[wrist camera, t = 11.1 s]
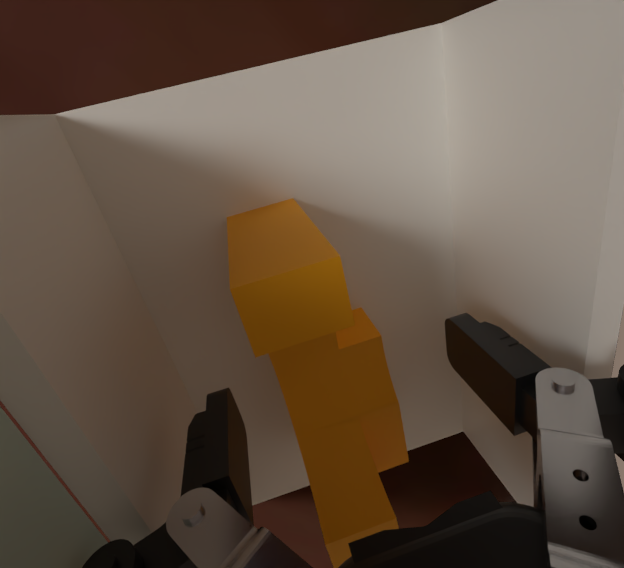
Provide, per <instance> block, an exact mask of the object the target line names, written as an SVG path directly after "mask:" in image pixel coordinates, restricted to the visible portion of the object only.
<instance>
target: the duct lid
mask: <svg viewBox="0 0 624 568" xmlns="http://www.w3.org/2000/svg"><path fill="white" fill-rule="evenodd" d="M107 543H108V542H107V541H106V540H105V538H104V537H103V536H102V535H101V533H100V532H99V531H98V530H97V528H96V527H95V526H94V524H93V523H92V522H91V521H90V519H89V518H88V517H87V516H86V514H85V513H84V512H83V511H82V509H81V508H80V507H79V506H78V504H77V503H76V502H75V500H74V499H73V498H72V497H71V495H70V494H69V493H68V492H67V490H66V489H65V488H64V487H63V485H62V484H61V483H60V482H59V480H58V479H57V478H56V476H55V475H54V474H53V473H52V471H51V470H50V469H49V468H48V466H47V465H46V464H45V463H44V461H43V460H42V459H41V457H40V456H39V455H38V454H37V452H36V451H35V450H34V449H33V447H32V446H31V445H30V444H29V442H28V441H27V440H26V439H25V437H24V436H23V435H22V433H21V432H20V431H19V430H18V428H17V427H16V426H15V425H14V423H13V422H12V421H11V420H10V418H9V417H8V416H7V415H6V413H5V412H4V411H3V409H2V408H1V407H0V568H82V567H83V565H84V564H85V563H86V561H87V560H88V559H89V558H90V556H91V555H92V554H93V553H94V552H96V551H97V550H98V549H99V548H100V547H102V546H103V545H105V544H107Z"/></svg>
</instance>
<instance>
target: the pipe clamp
mask: <svg viewBox="0 0 624 568" xmlns="http://www.w3.org/2000/svg"><path fill="white" fill-rule="evenodd" d="M227 237H228V260H229V283H230V291H231V294H232V297H233V299H234V302H235V305H236V307H237V310H238V313H239V315H240V318H241V321H242V323H243V326H244V329H245V331H246V334H247V337H248V339H249V342H250V345H251V347H252V350H253V353H254V355H255V358H256V357H259V356H262V355H265V354H269V357H270V359H271V362H272V365H273V367H274V370H275V373H276V376H277V378H278V381H279V384H280V387H281V390H282V393H283V396H284V399H285V402H286V405H287V408H288V411H289V415H290V418H291V421H292V424H293V427H294V431H295V434H296V437H297V441H298V444H299V448H300V451H301V455H302V458H303V462H304V465H305V469H306V472H307V476H308V479H309V483H310V487H311V491H312V494H313V498H314V502H315V506H316V510H317V513H318V517H319V521H320V525H321V529H322V533H323V537H324V542H325V545H326V548H327V551H328V553H329V556H330V559H331V562H332V564H333V567H334V568H338V567H339V566H340V565H341V564H342V563H343V562H344V561H346V560H347V559H348V558H350V557H351V556H352V555H351V551H350V548H349V545H348V543H351V542H353V541H356V540H359V539H361V538H364V537H367V536H369V535H372V534H375V533H378V532H380V531H383V530H391V529H399V528H398V523H397V519H396V516H395V514H394V511H393V509H392V507H391V504H390V502H389V499H388V497H387V494H386V492H385V489H384V487H383V484H382V482H381V479H380V477H379V474H378V473H379V472H382V471H384V470H387V469H390V468H393V467H395V466H398V465H401V464H404V463H406V462H409V458H408V453H407V447H406V441H405V435H404V429H403V423H402V417H401V411H400V406H399V402H398V399H397V396H396V393H395V390H394V387H393V383H392V380H391V377H390V373H389V369H388V366H387V362H386V357H385V353H384V348H383V342H382V336H381V334H380V333H379V331H378V330H377V329H376V327H375V326H374V324H373V323H372V322H371V320H370V319H369V317H368V316H367V315H366V313H365V312H364V310H363V309H362V308H357V309H354V310H352V309H351V304H350V299H349V295H348V290H347V285H346V281H345V276H344V271H343V267H342V262H341V257H340V255H339V254H338V252H337V251H336V250H335V249H334V248H333V246H332V245H331V244H330V243H329V241H328V240H327V239H326V238H325V237H324V235H323V234H322V233H321V232H320V230H319V229H318V228H317V227H316V226H315V224H314V223H313V222H312V221H311V219H310V218H309V217H308V216H307V215H306V213H305V212H304V211H303V210H302V208H301V207H300V206H299V205H298V204H297V202H296V201H295V200H294V199H293V198H292V199H288V200H285V201H281V202H278V203H274V204H271V205H267V206H264V207H260V208H257V209H254V210H250V211H247V212H243V213H240V214H236V215H233V216H229V217H227Z"/></svg>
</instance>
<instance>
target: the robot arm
mask: <svg viewBox="0 0 624 568" xmlns="http://www.w3.org/2000/svg"><path fill="white" fill-rule="evenodd" d="M445 336H446V349H447V356H448V359H449V362H450V364H451V366H452V367H453V369H454V370H455V371H456V372H457V373H458V374H459V375H460V377H461V378H462V379H463V380H464V381H465V382H466V383H467V384H468V385H469V387H470V388H471V389H472V390H473V391H474V392H475V393H476V394H477V395H478V397H479V398H480V399H481V400H482V401H483V402H484V403H485V404H486V405H487V407H488V408H489V409H490V410H491V411H492V412H493V413H494V414H495V415H496V416H497V418H498V419H499V420H500V421H501V422H502V423H503V424H504V425H505V426H506V428H507V429H508V430H509V431H510V432H511V433H512V434H513V435H514V436H516V435H518V434H521V433H524V432H528V433H529V434H530V435H531V436H532V467H533V492H534V507H532V506H529V505H525V504H520V503H513V502H498V501H497V499H496V498H495V496H494V495H493V494H492V492H491V491H488V492H486V493H483V494H480V495H477V496H475V497H472V498H469V499H467V500H464V501H461V502H459V503H456V504H455V505H454V506H452V507H451V508H450V509H448V510H447V511H446V512H444V513H443V514H442V515H440V516H439V517H438V518H436V519H435V520H434V521H432V522H431V523H430V524H428V525H427V526H424V527H415V528H403V529H391V530H383V531H380V532H378V533H375V534H372V535H369V536H367V537H364V538H361V539H359V540H356V541H353V542H351V543H348V545H349V548H350V551H351V555H352V556H351V557H350V558H348V559H347V560H346V561H344V562H343V563H342V564H341V565H340V566H339V567H338V568H624V492H623V487H622V484H621V479H620V475H619V471H618V467H617V462H616V458H615V454H617V455H618V456H619V457H620V458H621V459H622V460H623V461H624V365H623V366H622V367H621V368H620V370H619V375H618V377H617V378H602V379H587V378H586V377H584V376H583V375H582V374H580V373H578V372H576V371H573V370H570V369H566V368H552V367H551V366H549V365H548V364H547V363H545V362H544V361H543V360H542V359H540V358H539V357H538V356H536V355H535V354H534V353H533V352H531V351H530V350H529V349H527V348H526V347H525V346H523V345H522V344H519V342H518V341H517V340H516V339H514V338H513V337H511V336H510V335H509V334H508V333H507V332H505V331H504V330H503V329H502V328H500V327H498V326H496V325H493V324H491V323H488V322H485V321H484V322H481V323H479V322H478V321H477V320H476V319H474V318H473V317H472V316H471V315H470V314H468V313H463V314H460V315H457V316H454V317H450V318H447V319H446V320H445ZM185 452H186V454H185V460H184V469H183V478H182V488H181V496H180V498H179V499H178V500H177V501H176V502H175V503H174V505H173V506H172V508H171V509H170V511H169V514H168V516H167V520H166V522H165V523H164V524H163V525H162V526H161V527H159V528H158V529H157V530H155V531H154V532H152V533H151V534H149V535H148V536H146V537H145V538H143V539H142V540H140V541H139V542H137V543H136V544H134V545H133V544H132V543H131V542H130V541H128V540H125V539H118V540H114V541H111V542H109V543H107V544H105V545H103V546H102V547H100V548H99V549H98V550H97V551H96V552H94V553H93V554H92V555H91V556H90V558H89V559H88V560H87V561H86V563H85V564H84V565H83V567H82V568H313V567H311V566H310V565H309V564H308V563H307V562H306V561H304V560H303V559H302V558H301V557H300V556H298V555H297V554H296V553H295V552H294V551H293V550H291V549H290V548H289V547H288V546H287V545H285V544H284V543H283V542H282V541H281V540H280V539H278V538H277V537H276V536H275V535H274V534H272V533H271V532H270V531H269V530H267V529H266V528H264V527H261V528H260V529H257V528H255V527H254V523H253V510H252V497H251V484H250V471H249V458H248V445H247V434H246V429H245V425H244V422H243V419H242V416H241V414H240V412H239V409H238V407H237V404H236V402H235V399H234V397H233V395H232V392H231V390H230V388H225V389H222V390H219V391H216V392H212V393H209V394H207V399H206V411H203V412H200V413H197V414H195V415H194V417H193V419H192V421H191V423H190V425H189V426H188V432H187V443H186V451H185Z"/></svg>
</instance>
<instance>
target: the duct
mask: <svg viewBox="0 0 624 568" xmlns="http://www.w3.org/2000/svg"><path fill="white" fill-rule="evenodd" d="M292 198H293V199H294V200H295V201H296V202H297V204H298V205H299V206H300V207H301V208H302V210H303V211H304V212H305V213H306V215H307V216H308V217H309V218H310V219H311V221H312V222H313V223H314V224H315V226H316V227H317V228H318V229H319V230H320V232H321V233H322V234H323V235H324V237H325V238H326V239H327V240H328V241H329V243H330V244H331V245H332V246H333V248H334V249H335V250H336V251H337V252H338V254H339V255H340V257H341V262H342V267H343V271H344V276H345V281H346V285H347V290H348V295H349V299H350V304H351V309H352V310H354V309H357V308H362V309H363V310H364V312H365V313H366V315H367V316H368V317H369V319H370V320H371V322H372V323H373V324H374V326H375V327H376V329H377V330H378V331H379V333H380V334H381V336H382V342H383V348H384V353H385V357H386V362H387V366H388V369H389V373H390V377H391V380H392V383H393V387H394V390H395V393H396V396H397V399H398V402H399V406H400V411H401V417H402V423H403V429H404V435H405V441H406V447H407V451H409V450H412V449H415V448H418V447H420V446H423V445H426V444H429V443H432V442H435V441H437V440H440V439H443V438H446V437H449V436H452V435H455V434H457V433H460V432H464V433H465V434H466V436H467V437H468V438H469V440H470V441H471V442H472V444H473V445H474V446H475V448H476V449H477V450H478V452H479V453H480V454H481V456H482V457H483V458H484V459H485V461H486V462H487V463H488V465H489V466H490V467H491V469H492V470H493V471H494V473H495V474H496V475H497V477H498V478H499V479H500V481H501V482H502V483H503V485H504V486H505V487H506V489H507V490H508V491H509V493H510V494H511V495H512V497H513V498H514V499H515V501H516V502H517V503H520V504H525V505H529V506H532V507H534V492H533V467H532V436H531V435H530V434H529V433H528V432H524V433H521V434H518V435H516V436H514V435H513V434H512V433H511V432H510V431H509V430H508V429H507V428H506V426H505V425H504V424H503V423H502V422H501V421H500V420H499V419H498V418H497V416H496V415H495V414H494V413H493V412H492V411H491V410H490V409H489V408H488V407H487V405H486V404H485V403H484V402H483V401H482V400H481V399H480V398H479V397H478V395H477V394H476V393H475V392H474V391H473V390H472V389H471V388H470V387H469V385H468V384H467V383H466V382H465V381H464V380H463V379H462V378H461V377H460V375H459V374H458V373H457V372H456V371H455V370H454V369H453V367H452V366H451V364H450V362H449V359H448V356H447V349H446V336H445V320H446V319H447V318H450V317H454V316H457V315H460V314H463V313H468V314H470V315H471V316H472V317H473V318H474V319H476V320H477V321H478V322H479V323H481V322H484V321H485V322H488V323H491V324H493V325H496V326H498V327H500V328H502V329H503V330H504V331H505V332H507V333H508V334H509V335H510V336H511V337H513V338H514V339H516V340H517V341H518V342H519V344H522V345H523V346H525V347H526V348H527V349H529V350H530V351H531V352H533V353H534V354H535V355H536V356H538V357H539V358H540V359H542V360H543V361H544V362H545V363H547V364H548V365H549V366H551V367H552V368H566V369H570V370H573V371H576V372H578V373H580V374H582V375H583V376H584V377H586V378H587V379H602V378H611V375H612V369H613V364H614V358H615V352H616V346H617V341H618V335H619V330H620V324H621V318H622V313H623V307H624V0H498V1H495V2H493V3H490V4H488V5H485V6H483V7H480V8H478V9H475V10H473V11H470V12H468V13H465V14H463V15H460V16H458V17H455V18H453V19H451V20H448V21H446V22H443V23H440V24H436V25H432V26H427V27H423V28H419V29H415V30H410V31H406V32H402V33H398V34H393V35H389V36H385V37H381V38H376V39H372V40H368V41H364V42H359V43H355V44H351V45H347V46H342V47H338V48H334V49H330V50H325V51H321V52H317V53H313V54H309V55H304V56H300V57H296V58H292V59H287V60H283V61H279V62H275V63H270V64H266V65H262V66H258V67H253V68H249V69H245V70H241V71H236V72H232V73H228V74H224V75H219V76H215V77H211V78H207V79H202V80H198V81H194V82H190V83H185V84H181V85H177V86H173V87H169V88H164V89H160V90H156V91H152V92H147V93H143V94H139V95H135V96H130V97H126V98H122V99H118V100H113V101H109V102H105V103H101V104H96V105H92V106H88V107H84V108H79V109H75V110H71V111H67V112H62V113H58V114H48V115H0V400H1V402H2V403H3V404H4V405H5V407H6V408H7V409H8V411H9V412H10V413H11V414H12V416H13V417H14V418H15V419H16V421H17V422H18V423H19V425H20V426H21V427H22V428H23V430H24V431H25V432H26V434H27V435H28V436H29V437H30V439H31V440H32V441H33V442H34V444H35V445H36V446H37V448H38V449H39V450H40V451H41V453H42V454H43V455H44V457H45V458H46V459H47V460H48V462H49V463H50V464H51V465H52V467H53V468H54V469H55V471H56V472H57V473H58V474H59V476H60V477H61V478H62V480H63V481H64V482H65V483H66V485H67V486H68V487H69V488H70V490H71V491H72V492H73V494H74V495H75V496H76V497H77V499H78V500H79V501H80V503H81V504H82V505H83V506H84V508H85V509H86V510H87V511H88V513H89V514H90V515H91V517H92V518H93V519H94V520H95V522H96V523H97V524H98V526H99V527H100V528H101V529H102V531H103V532H104V533H105V534H106V536H107V537H108V538H109V540H110V541H114V540H118V539H125V540H128V541H130V542H131V543H132V544H133V545H134V544H136V543H137V542H139V541H140V540H142V539H143V538H145V537H146V536H148V535H149V534H151V533H152V532H154V531H155V530H157V529H158V528H159V527H161V526H162V525H163V524H164V523H165V522H166V520H167V516H168V514H169V511H170V509H171V508H172V506H173V505H174V503H175V502H176V501H177V500H178V499H179V498H180V496H181V488H182V478H183V469H184V460H185V454H186V452H185V451H186V443H187V432H188V426H189V425H190V423H191V421H192V419H193V417H194V415H195V414H197V413H200V412H203V411H206V399H207V394H209V393H212V392H216V391H219V390H222V389H225V388H230V390H231V392H232V395H233V397H234V399H235V402H236V404H237V407H238V409H239V412H240V414H241V416H242V419H243V422H244V425H245V429H246V434H247V445H248V458H249V471H250V484H251V497H252V505H255V504H258V503H261V502H263V501H266V500H269V499H272V498H275V497H278V496H281V495H283V494H286V493H289V492H292V491H295V490H298V489H301V488H303V487H306V486H309V485H310V483H309V479H308V476H307V472H306V469H305V465H304V462H303V458H302V455H301V451H300V448H299V444H298V441H297V437H296V434H295V431H294V427H293V424H292V421H291V418H290V415H289V411H288V408H287V405H286V402H285V399H284V396H283V393H282V390H281V387H280V384H279V381H278V378H277V376H276V373H275V370H274V367H273V365H272V362H271V359H270V357H269V354H265V355H262V356H259V357H256V358H255V355H254V353H253V350H252V347H251V345H250V342H249V339H248V337H247V334H246V331H245V329H244V326H243V323H242V321H241V318H240V315H239V313H238V310H237V307H236V305H235V302H234V299H233V297H232V294H231V291H230V283H229V260H228V237H227V217H229V216H233V215H236V214H240V213H243V212H247V211H250V210H254V209H257V208H260V207H264V206H267V205H271V204H274V203H278V202H281V201H285V200H288V199H292Z"/></svg>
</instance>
